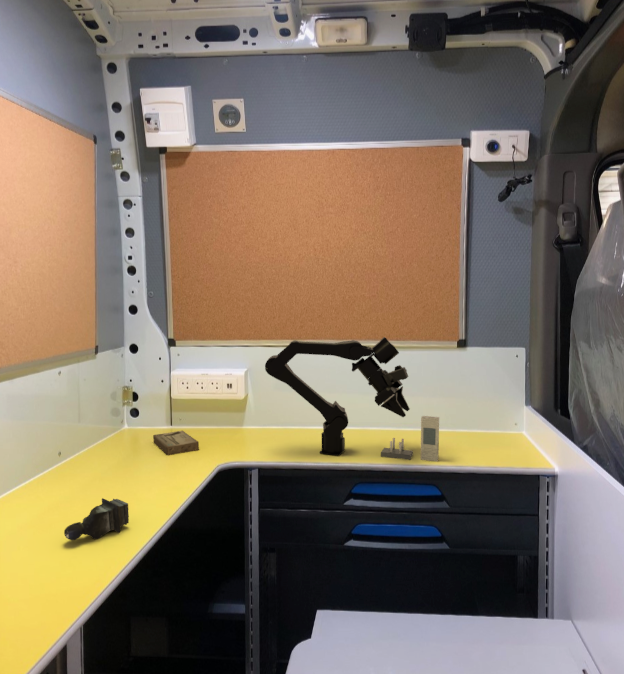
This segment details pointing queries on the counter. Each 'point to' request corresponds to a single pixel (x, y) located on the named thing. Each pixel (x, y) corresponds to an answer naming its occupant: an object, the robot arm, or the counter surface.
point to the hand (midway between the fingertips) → (406, 413)
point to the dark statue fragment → (100, 520)
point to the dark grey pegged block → (397, 451)
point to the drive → (429, 438)
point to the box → (176, 442)
